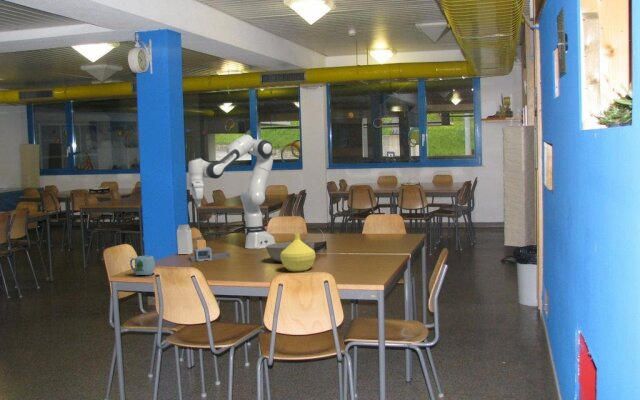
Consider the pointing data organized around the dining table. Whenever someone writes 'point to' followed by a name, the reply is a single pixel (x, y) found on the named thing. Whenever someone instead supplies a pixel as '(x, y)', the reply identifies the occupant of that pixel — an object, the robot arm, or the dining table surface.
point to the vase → (297, 255)
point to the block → (201, 244)
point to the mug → (143, 265)
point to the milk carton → (184, 239)
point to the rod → (214, 256)
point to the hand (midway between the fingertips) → (198, 206)
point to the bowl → (281, 249)
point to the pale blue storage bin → (202, 253)
